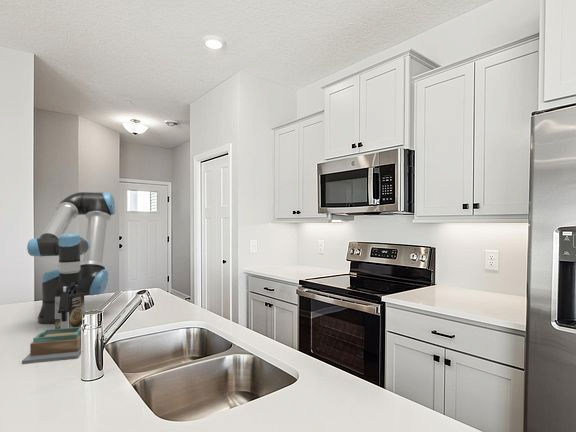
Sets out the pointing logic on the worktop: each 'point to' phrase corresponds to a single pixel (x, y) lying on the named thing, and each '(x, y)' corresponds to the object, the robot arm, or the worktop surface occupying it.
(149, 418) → the worktop surface
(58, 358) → the baseplate
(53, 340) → the riser
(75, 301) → the coffee box
